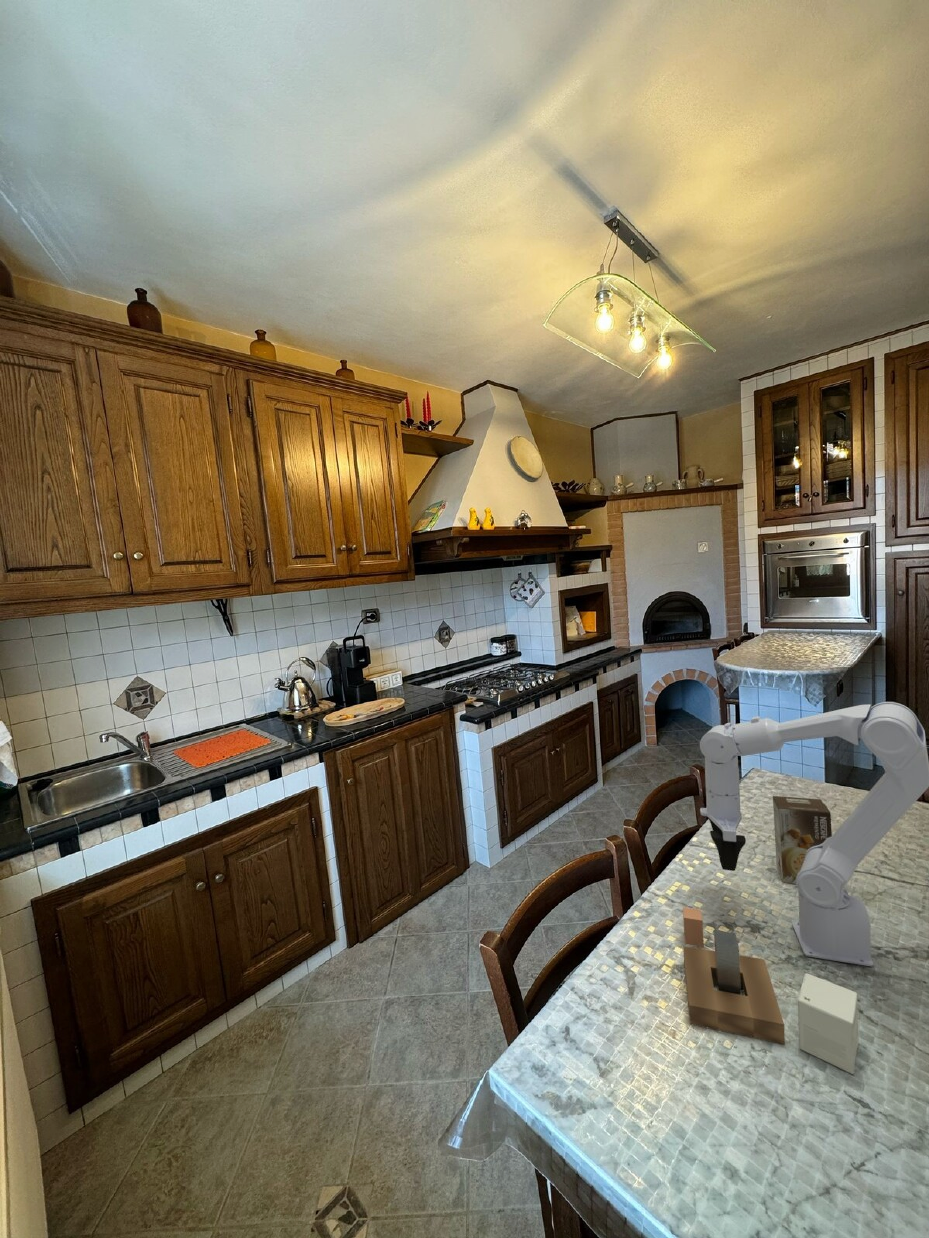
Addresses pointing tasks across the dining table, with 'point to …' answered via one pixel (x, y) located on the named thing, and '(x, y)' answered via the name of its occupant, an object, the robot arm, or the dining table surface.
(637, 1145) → the dining table surface
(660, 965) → the dining table surface
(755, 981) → the hole block
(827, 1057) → the product box
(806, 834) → the coffee box
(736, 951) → the long metal pin
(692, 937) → the orange brown block
